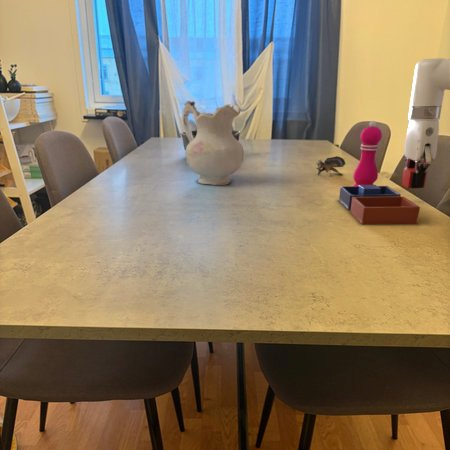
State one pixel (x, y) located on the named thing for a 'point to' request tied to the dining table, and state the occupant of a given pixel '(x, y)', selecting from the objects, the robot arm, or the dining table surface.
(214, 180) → the ceramic pitcher
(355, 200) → the red bin
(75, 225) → the dining table surface
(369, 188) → the blue block
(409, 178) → the red block
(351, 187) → the blue bin
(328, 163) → the brown insect figurine
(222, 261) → the dining table surface
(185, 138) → the bundt pan
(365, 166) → the pepper mill
